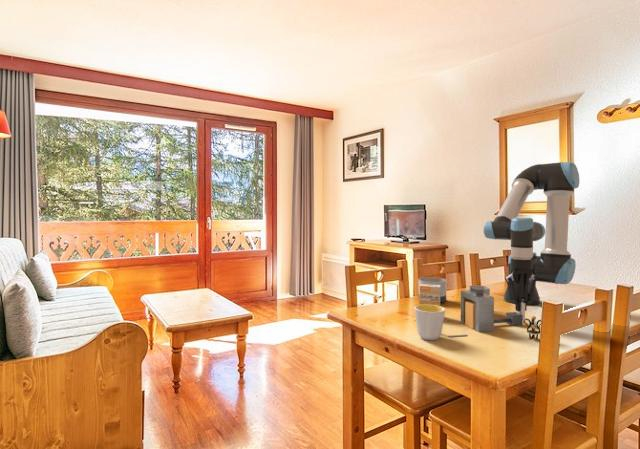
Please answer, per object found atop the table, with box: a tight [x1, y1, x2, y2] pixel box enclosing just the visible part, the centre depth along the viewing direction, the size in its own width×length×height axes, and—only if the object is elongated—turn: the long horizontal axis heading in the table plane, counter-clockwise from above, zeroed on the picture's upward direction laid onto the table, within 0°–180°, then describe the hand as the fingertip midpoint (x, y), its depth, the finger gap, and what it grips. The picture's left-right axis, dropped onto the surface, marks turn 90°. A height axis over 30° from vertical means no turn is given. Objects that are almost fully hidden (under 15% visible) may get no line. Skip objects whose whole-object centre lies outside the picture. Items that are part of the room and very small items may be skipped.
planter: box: [417, 276, 447, 304], centre depth 183 cm, size 13×13×10 cm
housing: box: [460, 287, 495, 333], centre depth 143 cm, size 6×12×14 cm, turn 10°
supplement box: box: [418, 284, 441, 306], centre depth 157 cm, size 8×5×13 cm, turn 70°
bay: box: [443, 320, 468, 338], centre depth 141 cm, size 7×18×1 cm, turn 10°
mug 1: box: [413, 304, 446, 341], centre depth 133 cm, size 14×10×10 cm
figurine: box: [522, 315, 542, 342], centre depth 129 cm, size 5×5×8 cm
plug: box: [464, 301, 524, 330], centre depth 144 cm, size 21×5×9 cm, turn 100°
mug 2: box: [467, 284, 491, 296], centre depth 163 cm, size 12×8×11 cm
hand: (520, 319), depth 146 cm, fingers closed
